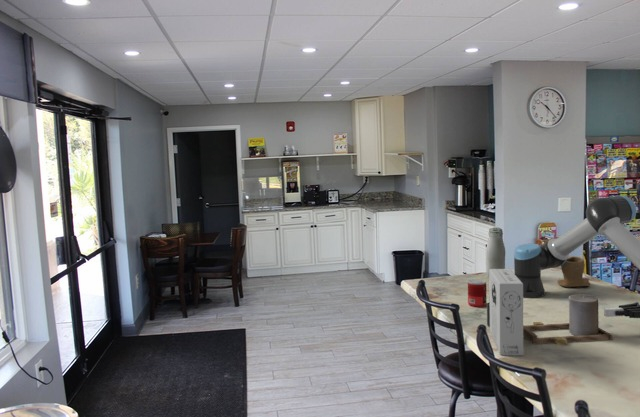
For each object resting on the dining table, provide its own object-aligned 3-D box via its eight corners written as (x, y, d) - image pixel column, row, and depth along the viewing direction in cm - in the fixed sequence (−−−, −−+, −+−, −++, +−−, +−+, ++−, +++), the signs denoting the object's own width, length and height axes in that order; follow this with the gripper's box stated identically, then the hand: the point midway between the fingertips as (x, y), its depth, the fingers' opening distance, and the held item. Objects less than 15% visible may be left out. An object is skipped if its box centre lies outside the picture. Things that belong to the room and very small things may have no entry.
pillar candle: (595, 329, 188) (595, 291, 187) (601, 339, 179) (600, 298, 178) (567, 328, 192) (567, 290, 190) (571, 337, 182) (570, 297, 181)
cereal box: (523, 356, 168) (523, 283, 165) (499, 355, 169) (499, 283, 166) (510, 333, 189) (510, 268, 186) (489, 332, 190) (489, 268, 188)
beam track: (585, 323, 195) (585, 316, 195) (616, 341, 176) (616, 333, 176) (512, 327, 194) (512, 320, 194) (536, 346, 175) (536, 338, 175)
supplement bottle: (484, 323, 200) (483, 294, 199) (500, 322, 201) (500, 293, 200) (491, 329, 194) (491, 299, 192) (508, 328, 194) (508, 298, 193)
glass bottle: (485, 280, 266) (485, 228, 263) (486, 276, 276) (486, 226, 273) (505, 281, 263) (505, 229, 260) (505, 276, 272) (505, 226, 269)
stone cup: (563, 289, 243) (563, 259, 242) (555, 283, 255) (555, 254, 253) (596, 289, 241) (596, 259, 240) (586, 283, 253) (586, 254, 251)
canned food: (487, 307, 220) (487, 283, 219) (468, 307, 222) (468, 283, 221) (485, 302, 228) (485, 279, 227) (467, 302, 230) (467, 279, 228)
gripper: (679, 324, 180) (615, 328, 179) (654, 313, 192) (594, 316, 192) (680, 304, 179) (616, 308, 178) (654, 294, 192) (594, 298, 191)
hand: (605, 312), depth 185 cm, fingers closed
